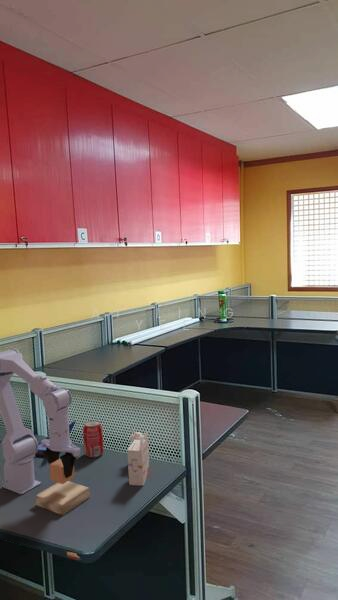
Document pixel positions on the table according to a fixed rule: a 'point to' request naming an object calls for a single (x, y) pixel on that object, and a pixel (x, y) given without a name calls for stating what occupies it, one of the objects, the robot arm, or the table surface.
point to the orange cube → (59, 472)
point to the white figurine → (136, 436)
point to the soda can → (93, 438)
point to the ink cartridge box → (138, 461)
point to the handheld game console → (41, 449)
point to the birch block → (62, 497)
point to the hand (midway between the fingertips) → (61, 474)
